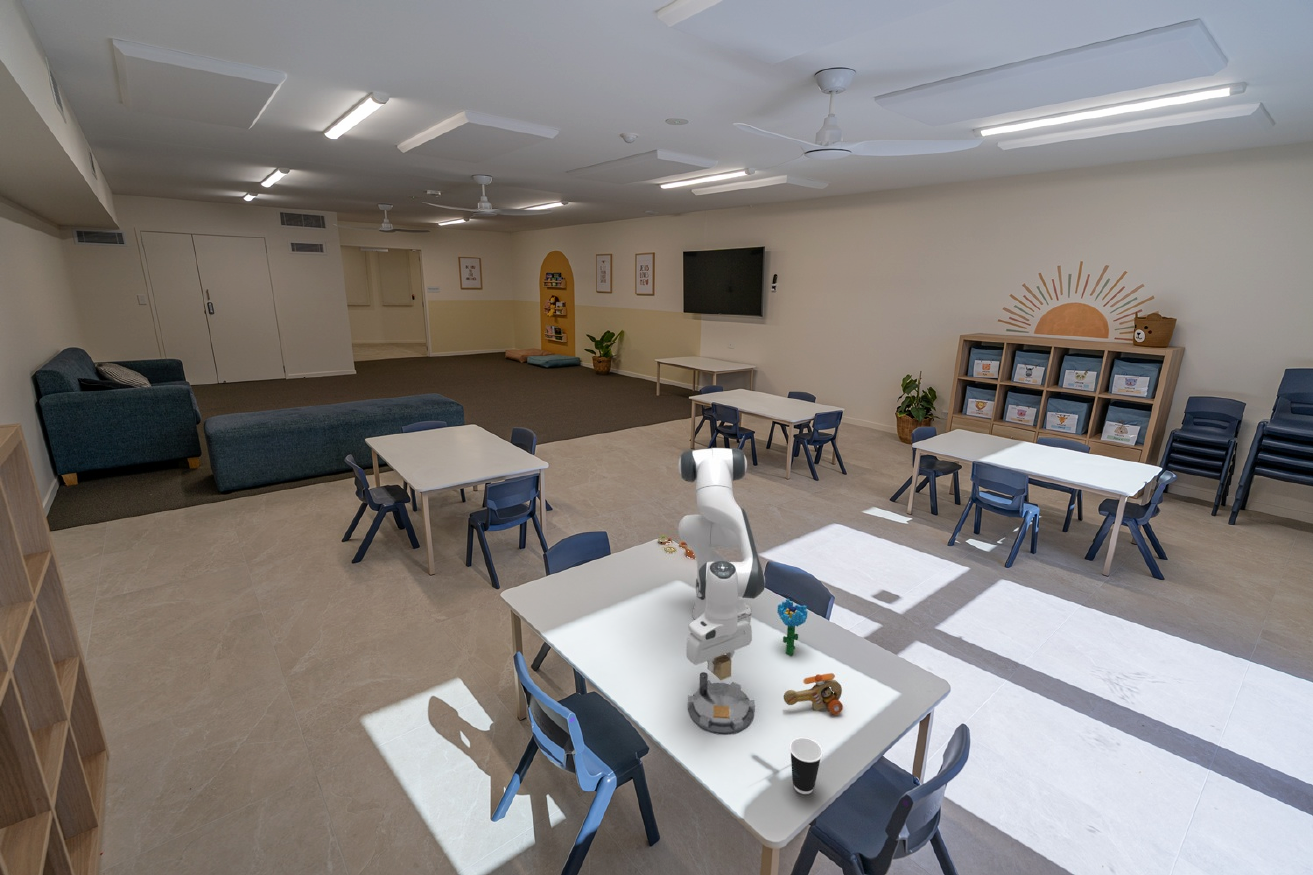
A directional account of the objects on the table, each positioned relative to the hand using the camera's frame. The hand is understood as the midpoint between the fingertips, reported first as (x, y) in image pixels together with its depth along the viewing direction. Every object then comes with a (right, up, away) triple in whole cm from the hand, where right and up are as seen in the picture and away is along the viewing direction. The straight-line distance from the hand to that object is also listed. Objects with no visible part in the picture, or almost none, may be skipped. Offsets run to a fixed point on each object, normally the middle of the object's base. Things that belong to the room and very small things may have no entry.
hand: (719, 666), depth 159 cm
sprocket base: (+1, -16, +9) cm, 18 cm away
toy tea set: (-5, +8, +112) cm, 112 cm away
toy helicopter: (+28, -16, +9) cm, 34 cm away
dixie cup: (+19, -23, -17) cm, 34 cm away
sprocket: (+1, -15, +8) cm, 17 cm away
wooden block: (0, -2, 0) cm, 2 cm away
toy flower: (+28, -10, +36) cm, 46 cm away
